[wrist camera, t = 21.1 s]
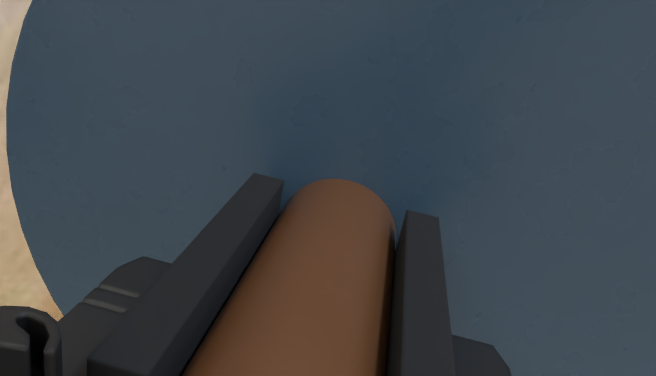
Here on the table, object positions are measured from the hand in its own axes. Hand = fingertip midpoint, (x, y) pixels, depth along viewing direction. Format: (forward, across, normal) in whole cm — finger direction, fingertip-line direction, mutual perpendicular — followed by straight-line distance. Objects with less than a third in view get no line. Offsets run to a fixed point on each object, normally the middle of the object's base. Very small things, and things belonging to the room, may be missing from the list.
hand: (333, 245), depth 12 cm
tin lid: (+1, 0, 0) cm, 1 cm away
